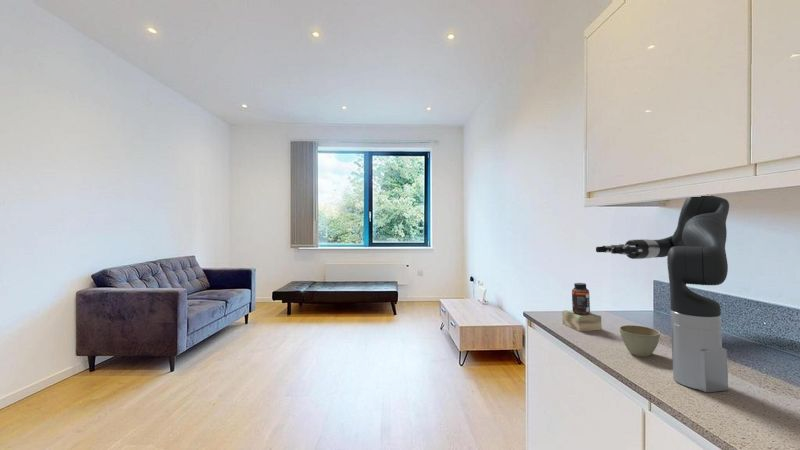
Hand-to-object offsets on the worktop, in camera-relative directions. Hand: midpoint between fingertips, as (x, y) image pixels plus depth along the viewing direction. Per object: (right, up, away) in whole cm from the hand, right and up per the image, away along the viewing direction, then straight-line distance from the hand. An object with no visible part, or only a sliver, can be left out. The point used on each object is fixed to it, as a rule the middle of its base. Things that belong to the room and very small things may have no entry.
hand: (604, 250), depth 131 cm
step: (-10, -29, -2) cm, 31 cm away
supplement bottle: (-10, -24, -2) cm, 26 cm away
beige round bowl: (-7, -29, -30) cm, 42 cm away
